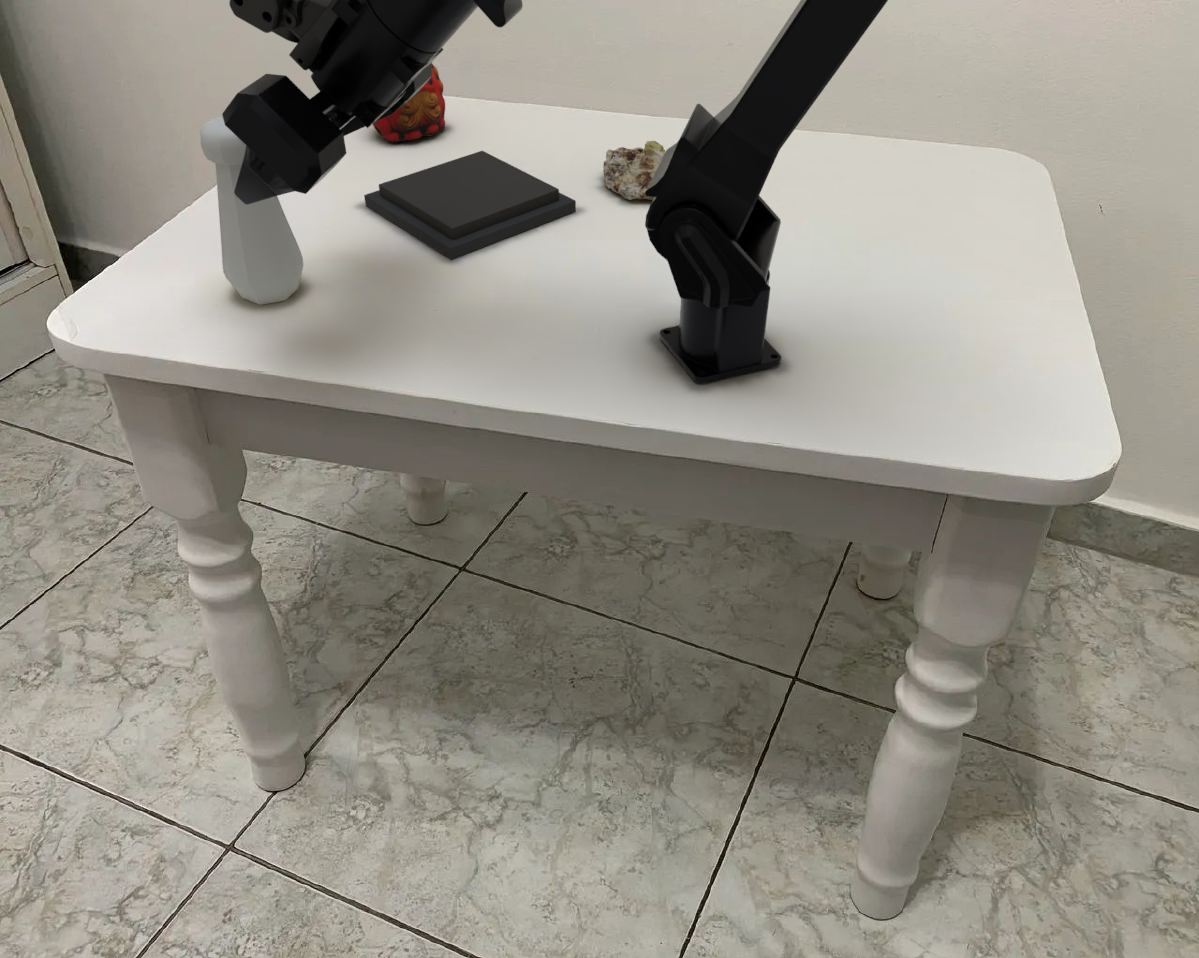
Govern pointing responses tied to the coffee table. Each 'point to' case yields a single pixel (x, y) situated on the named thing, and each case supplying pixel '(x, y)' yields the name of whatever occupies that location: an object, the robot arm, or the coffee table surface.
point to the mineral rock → (632, 169)
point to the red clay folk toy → (416, 114)
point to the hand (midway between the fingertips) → (274, 170)
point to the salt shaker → (250, 227)
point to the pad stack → (468, 203)
